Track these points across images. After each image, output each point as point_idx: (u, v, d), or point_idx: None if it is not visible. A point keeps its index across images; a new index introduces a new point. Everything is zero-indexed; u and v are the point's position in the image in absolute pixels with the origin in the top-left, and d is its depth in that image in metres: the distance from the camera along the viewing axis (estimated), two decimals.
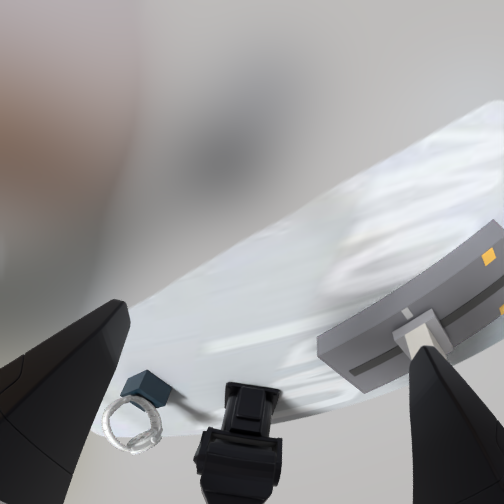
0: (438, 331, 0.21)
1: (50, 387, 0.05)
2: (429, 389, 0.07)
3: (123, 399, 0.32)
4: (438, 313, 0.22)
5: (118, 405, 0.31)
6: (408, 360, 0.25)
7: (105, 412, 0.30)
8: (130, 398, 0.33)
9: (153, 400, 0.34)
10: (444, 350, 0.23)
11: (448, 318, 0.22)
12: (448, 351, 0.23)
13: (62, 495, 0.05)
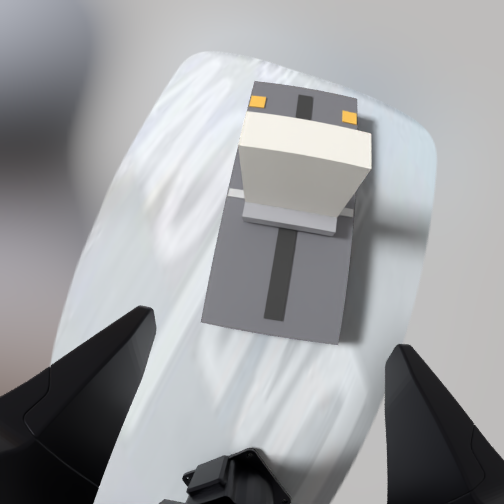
0: None
1: (81, 401, 0.05)
2: (403, 389, 0.07)
3: None
4: None
5: None
6: (321, 245, 0.20)
7: None
8: None
9: None
10: None
11: None
12: None
13: None
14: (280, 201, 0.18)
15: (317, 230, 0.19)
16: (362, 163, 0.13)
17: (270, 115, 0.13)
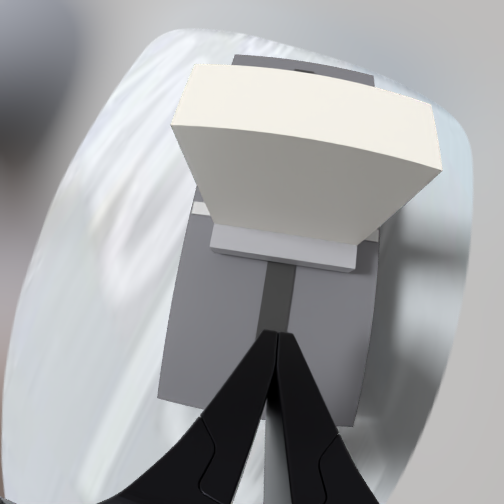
0: None
1: (250, 448, 0.05)
2: (272, 380, 0.07)
3: None
4: None
5: None
6: (332, 286, 0.13)
7: None
8: None
9: None
10: None
11: None
12: None
13: None
14: (268, 223, 0.11)
15: (327, 266, 0.12)
16: (425, 158, 0.06)
17: (239, 68, 0.06)
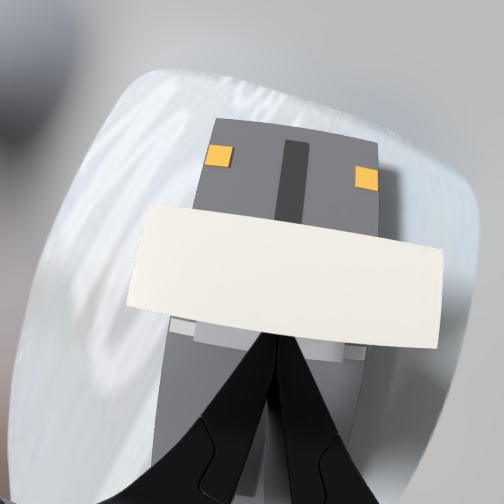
0: None
1: (249, 448, 0.05)
2: (272, 380, 0.07)
3: None
4: None
5: None
6: None
7: None
8: None
9: None
10: None
11: None
12: None
13: None
14: None
15: None
16: (420, 337, 0.05)
17: (204, 212, 0.06)
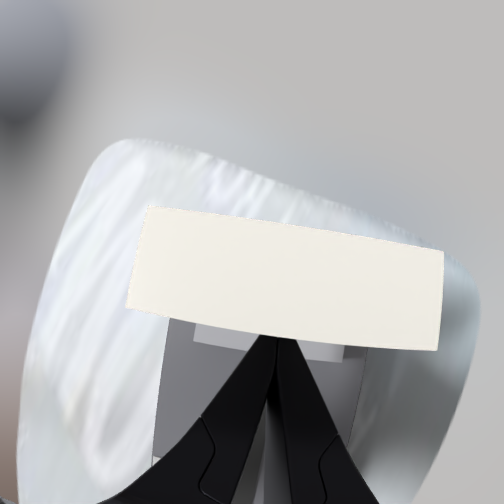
0: None
1: (249, 448, 0.05)
2: (272, 380, 0.07)
3: None
4: None
5: None
6: None
7: None
8: None
9: None
10: None
11: None
12: None
13: None
14: None
15: None
16: (420, 339, 0.05)
17: (204, 213, 0.06)
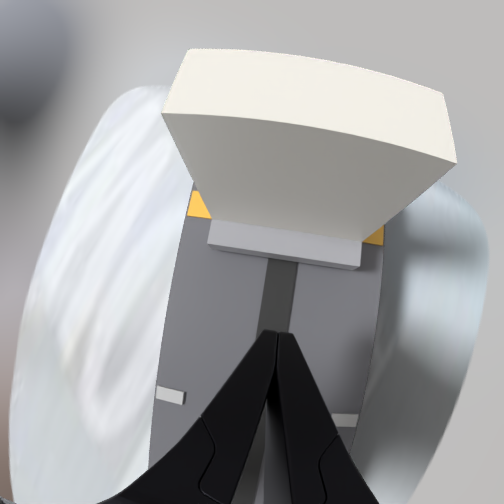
0: None
1: (249, 448, 0.05)
2: (272, 380, 0.07)
3: None
4: (229, 356, 0.12)
5: None
6: None
7: None
8: None
9: None
10: None
11: None
12: None
13: None
14: (268, 218, 0.11)
15: (330, 263, 0.12)
16: (439, 150, 0.05)
17: (237, 52, 0.06)
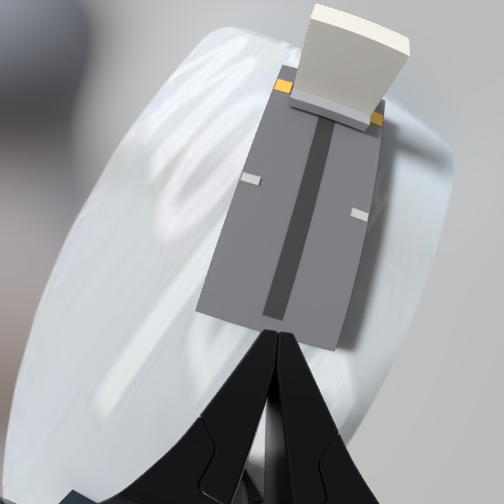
0: None
1: (249, 448, 0.05)
2: (272, 380, 0.07)
3: None
4: (292, 160, 0.20)
5: None
6: (331, 246, 0.19)
7: None
8: None
9: None
10: None
11: (314, 160, 0.20)
12: None
13: None
14: (325, 88, 0.18)
15: (353, 121, 0.20)
16: (403, 51, 0.13)
17: (334, 10, 0.13)
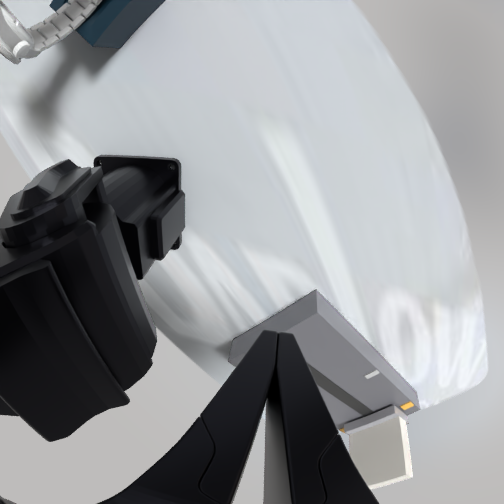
0: None
1: (249, 448, 0.05)
2: (272, 380, 0.07)
3: None
4: (361, 393, 0.25)
5: None
6: None
7: None
8: None
9: (103, 19, 0.11)
10: None
11: (351, 400, 0.25)
12: None
13: None
14: (380, 431, 0.25)
15: (353, 426, 0.27)
16: None
17: (402, 479, 0.20)
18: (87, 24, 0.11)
